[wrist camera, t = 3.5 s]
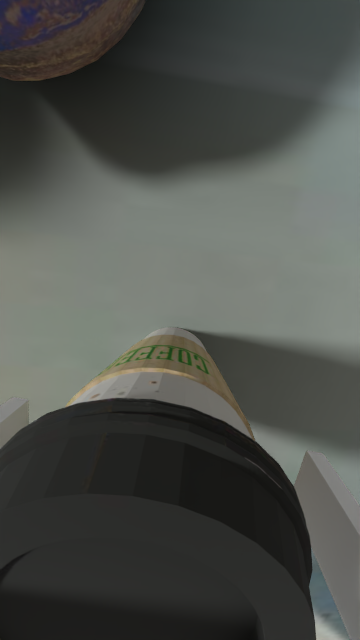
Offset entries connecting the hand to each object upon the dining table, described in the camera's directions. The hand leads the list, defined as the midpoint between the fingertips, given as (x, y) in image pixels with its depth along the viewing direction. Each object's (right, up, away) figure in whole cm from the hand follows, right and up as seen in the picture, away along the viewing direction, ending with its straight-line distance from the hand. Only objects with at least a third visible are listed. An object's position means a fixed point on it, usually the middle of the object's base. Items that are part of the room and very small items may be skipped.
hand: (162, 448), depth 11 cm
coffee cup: (0, +3, +9) cm, 9 cm away
